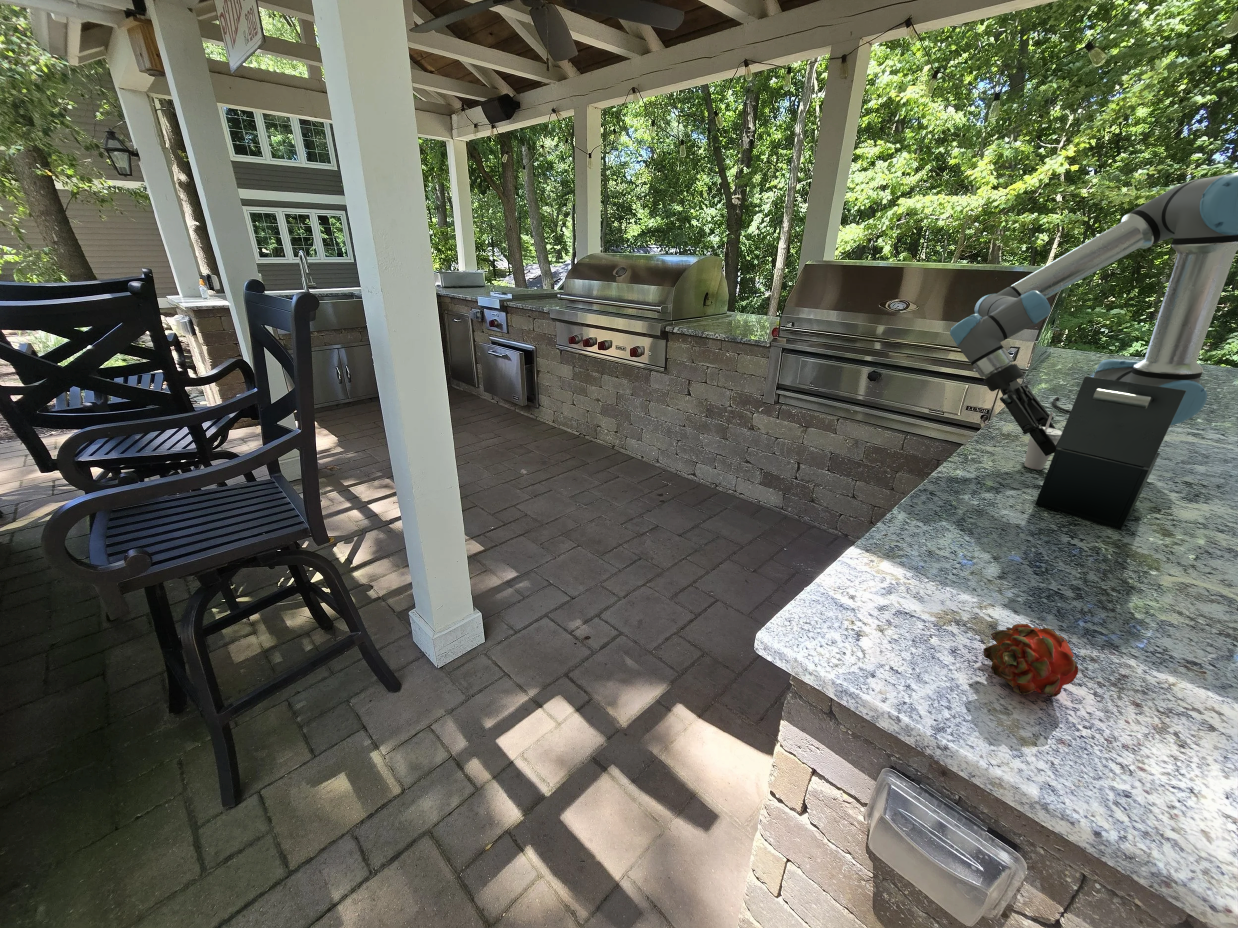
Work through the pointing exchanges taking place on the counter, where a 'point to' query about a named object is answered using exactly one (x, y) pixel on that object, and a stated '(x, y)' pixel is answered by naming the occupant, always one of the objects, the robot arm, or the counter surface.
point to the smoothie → (1034, 453)
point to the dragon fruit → (1032, 659)
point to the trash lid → (1120, 420)
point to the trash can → (1093, 487)
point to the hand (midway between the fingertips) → (1056, 449)
